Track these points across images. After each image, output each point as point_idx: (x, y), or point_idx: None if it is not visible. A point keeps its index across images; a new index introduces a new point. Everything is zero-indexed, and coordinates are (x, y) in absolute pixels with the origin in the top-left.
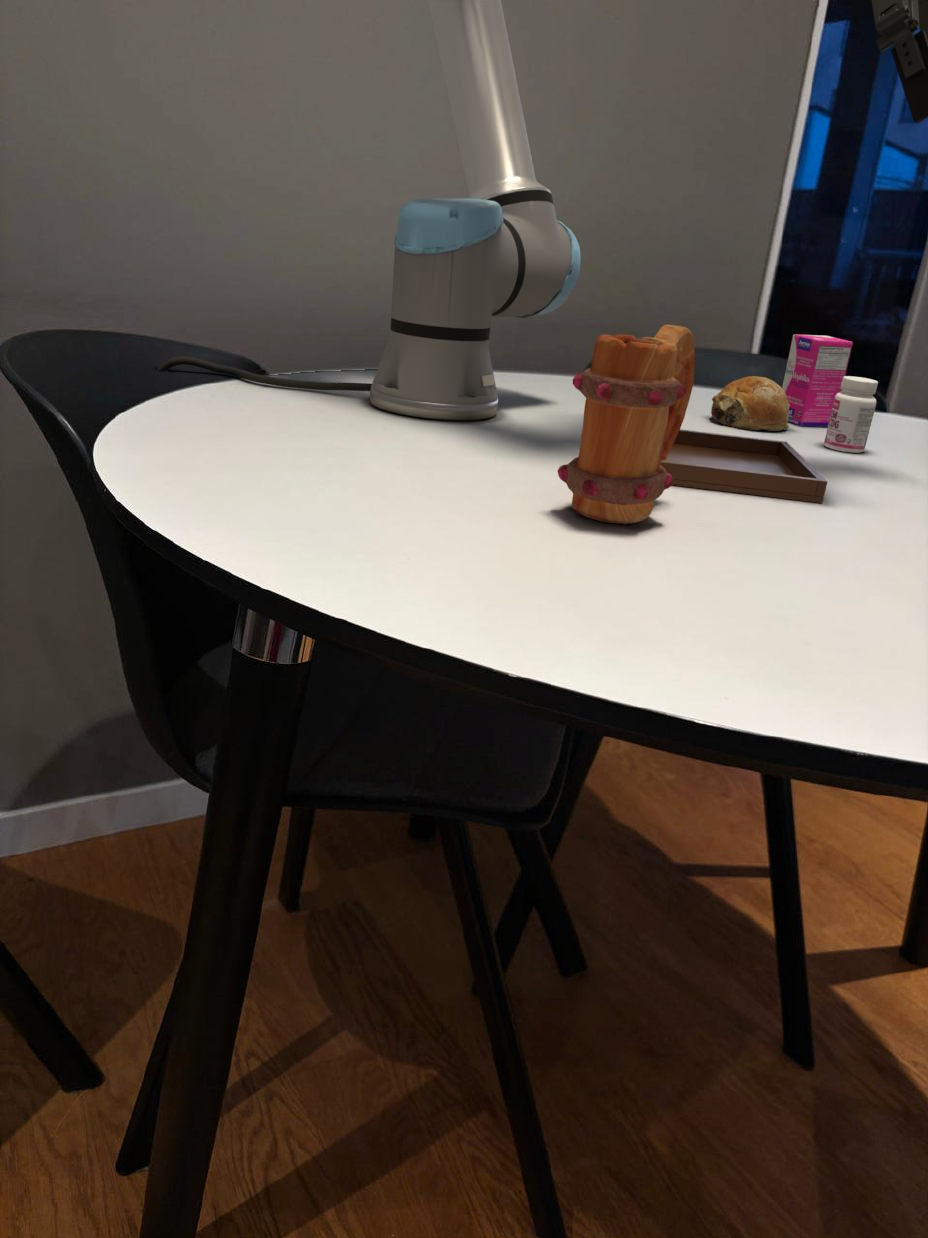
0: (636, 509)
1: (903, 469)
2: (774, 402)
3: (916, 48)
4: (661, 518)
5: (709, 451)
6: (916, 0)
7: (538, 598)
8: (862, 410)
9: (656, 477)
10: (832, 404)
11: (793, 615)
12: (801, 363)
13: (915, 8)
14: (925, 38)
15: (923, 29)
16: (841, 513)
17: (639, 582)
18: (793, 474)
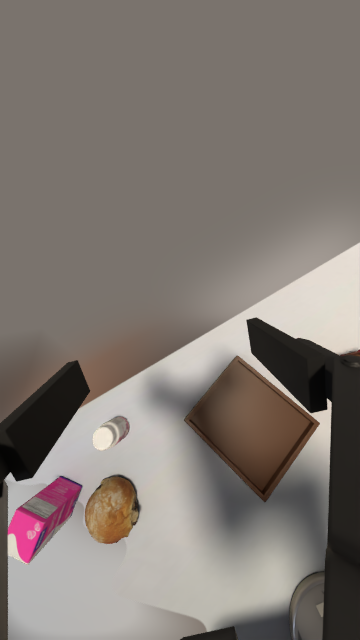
0: None
1: (132, 384)
2: (118, 487)
3: (322, 349)
4: None
5: (223, 438)
6: (348, 423)
7: None
8: (116, 423)
9: (356, 352)
10: (56, 484)
11: (345, 285)
12: (52, 525)
13: (357, 391)
14: (310, 348)
15: (3, 603)
16: (240, 344)
17: None
18: (216, 387)
